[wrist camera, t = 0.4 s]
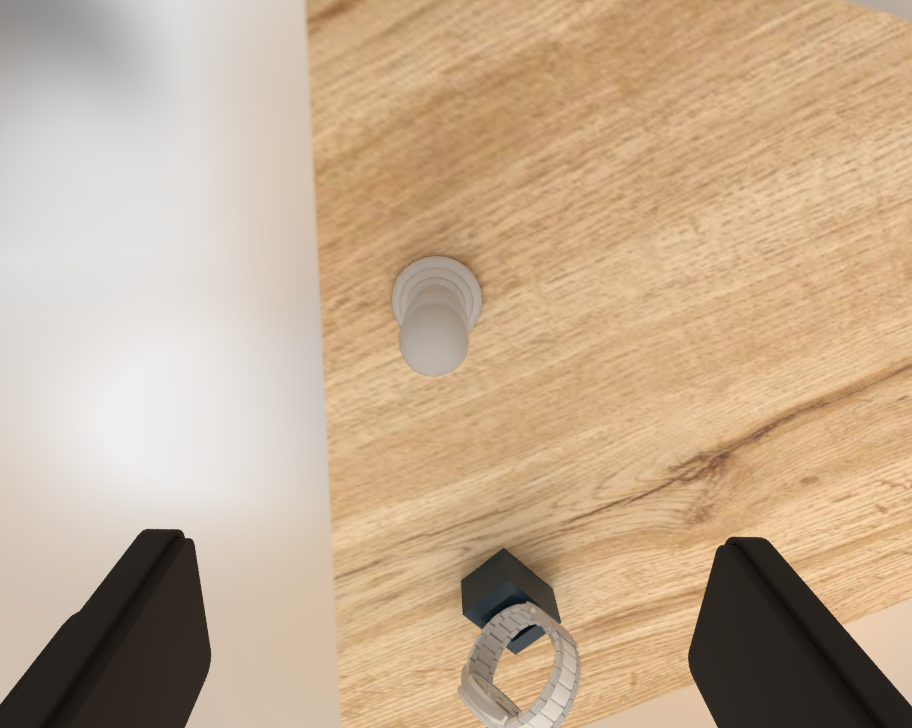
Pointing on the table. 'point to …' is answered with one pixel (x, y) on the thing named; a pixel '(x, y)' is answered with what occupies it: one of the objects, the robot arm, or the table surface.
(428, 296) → the chess piece
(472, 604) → the watch
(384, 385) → the table surface
